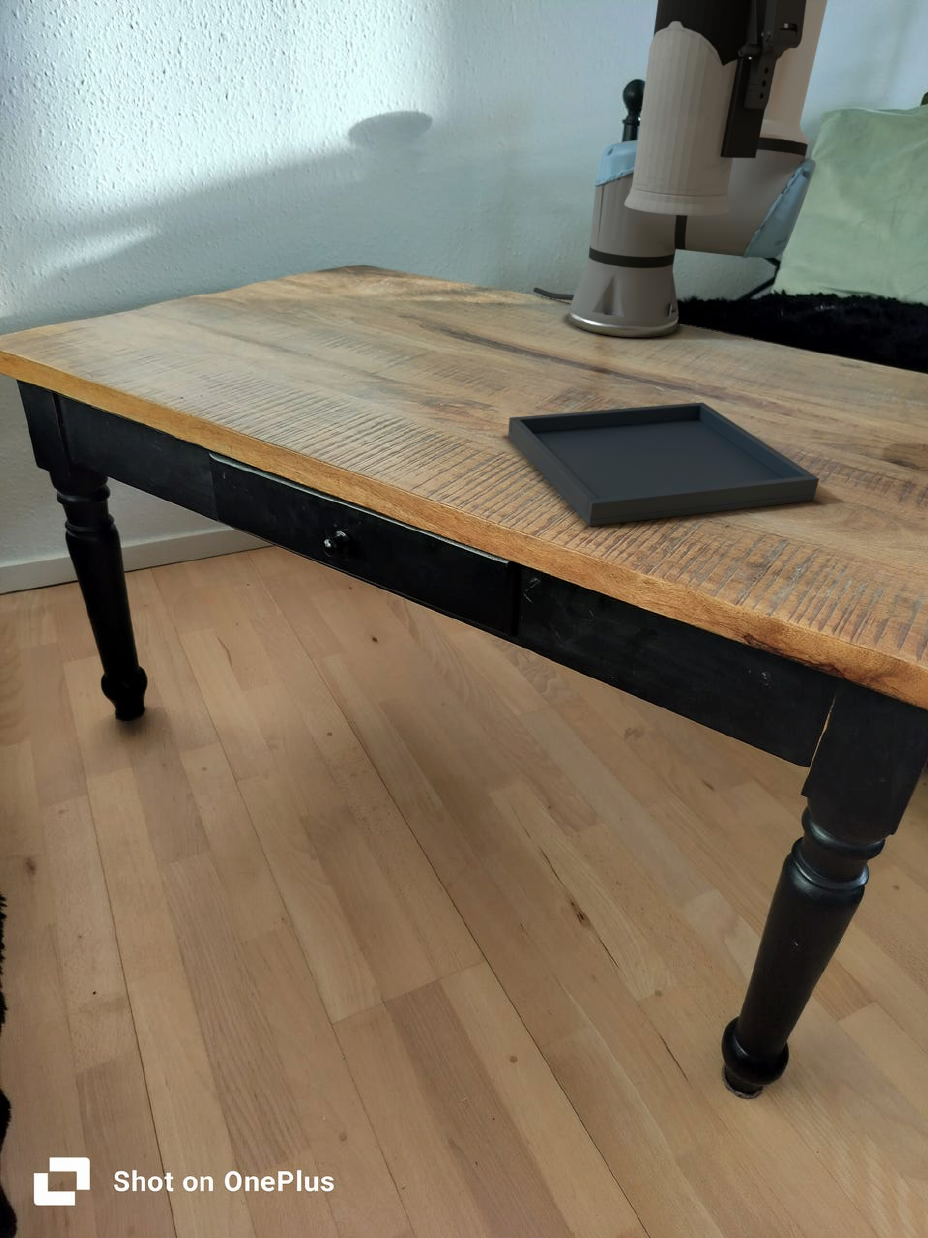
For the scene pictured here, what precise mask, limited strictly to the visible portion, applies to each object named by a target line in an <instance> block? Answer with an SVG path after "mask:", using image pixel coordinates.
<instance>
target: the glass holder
mask: <svg viewBox="0 0 928 1238" xmlns="http://www.w3.org/2000/svg"><path fill="white" fill-rule="evenodd" d="M747 4H748V0H657V5H656V14H655V20H654V28H653V29H654V30H653V36H652V37H653V38H652V39H651V43H650V46H649V48H648V49H649V51H648V56H647V57H648V58H647V64H646V65H647V66H646V73H645V81H644V89H643V97H642V103H641V112H640V113H641V114H640V120H639V129H638V137H637V140H638V144H637V151H636V159H635V167H634V175H633V183H632V187H631V191H630V194H629V195H628V197H627V199H626V200H625V203H624V205H625V206H627V207H629V208H632V209H636V210H641V211H646V212H653V213H661V214H672V215H690V216H709V215H721V214H726V213H728V212H729V211H730V209H729V204H728V201H727V195H728V194H727V191H728V185H729V180H730V174H731V169H732V163H733V158H725V157H720V156H721V150H722V145H723V139H724V134H725V128H726V122H727V117H728V111H729V106H730V100H731V94H732V89H733V83H734V78H735V72H736V66H737V61H738V58H745V59H749V57H740V56H739V55H738V51H739V50H740V49H741V48H742V47H743V46H745V45H746V9H747ZM762 36H763V33H762Z"/></svg>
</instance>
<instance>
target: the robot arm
mask: <svg viewBox="0 0 928 1238" xmlns="http://www.w3.org/2000/svg"><path fill="white" fill-rule="evenodd" d="M828 1H829V0H748V4H747V9H746V45H745V46H743V47H742V48H741V49H740V50H739V51H738V55H739V56H740V57H749V59H745V58H738V61H737V66H736V72H735V78H734V83H733V89H732V94H731V100H730V106H729V111H728V117H727V122H726V128H725V134H724V139H723V145H722V150H721V156H720V157H725V158H733V163H732V169H731V174H730V180H729V185H728V191H727V194H728V195H727V201H728V204H729V209H730V211H729V212H728V213H726V214H721V215H709V216H690V215H672V214H661V213H653V212H646V211H641V210H636V209H632V208H629V207H627V206H625V205H624V203H625V200H626V199H627V197H628V195H629V194H630V191H631V187H632V183H633V175H634V167H635V159H636V151H637V144H638V139H635V140H627V141H619V142H616V143H612V144H610V145H608V146H607V147H605V148H604V149H603V151H602V153H601V154H600V157H599V164H598V170H597V175H596V176H597V177H596V181H595V182H594V187H595V191H594V202H593V209H592V218H591V219H592V220H591V230H590V239H589V249H588V256H587V264H586V266H585V268H584V271H583V274H582V276H581V278H580V281H579V283H578V286H577V288H576V290H575V293H574V294H567V293H566V294H565V293H555V292H551V291H548V290H545V289H541V288H539V287H534V288H533V292H534V293H536V294H539V295H541V296H543V297H546V298H550V299H552V300H553V299H554V300H560V301H561V300H564V301H571V303H570V307H569V313H568V314H569V315H568V320H569V322H570V323H571V324H573V325H574V326H575V327H578V328H579V329H582V330H584V331H588V332H591V333H595V334H600V335H608V336H612V337H613V336H614V337H624V338H650V337H651V338H652V337H659V336H665V335H668V334H671V333H673V332H675V330H677V328H678V326H677V325H678V322H679V306H678V305H679V304H678V300H677V292H676V284H675V279H674V264H675V263H674V262H675V256H676V251H677V250H678V251H679V250H680V251H687V252H688V251H689V252H696V253H697V252H698V253H705V254H714V255H715V254H717V255H722V256H723V255H726V256H732V257H733V256H734V257H741V258H743V259H748V258H758V259H773V258H776V257H778V256H780V255H781V254H782V253H783V252H785V250H786V248H787V246H788V244H789V242H790V239H791V237H792V234H793V232H794V229H795V226H796V224H797V220H798V218H799V216H800V213H801V211H802V207H803V205H804V201H805V199H806V196H807V194H808V191H809V188H810V183H811V181H812V178H813V175H814V174H815V173H814V172H815V170H816V165H817V162H816V161H815V160H814V159H812V158H811V157H806V155H807V153H808V147H809V143H810V142H809V140H808V138H807V136H806V134H804V132H803V130H802V128H801V120H802V118H803V117H802V116H803V113H804V107H805V103H806V98H807V94H808V90H809V87H810V85H809V84H810V82H811V81H810V80H811V76H812V73H813V67H814V62H815V58H816V55H817V51H818V50H817V49H818V46H819V40H820V35H821V32H822V27H823V22H824V18H825V14H826V10H827V5H828ZM762 33H763V36H762Z"/></svg>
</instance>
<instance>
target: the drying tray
mask: <svg viewBox="0 0 928 1238" xmlns="http://www.w3.org/2000/svg"><path fill="white" fill-rule="evenodd" d="M508 420H509V421H508V433H507V438H508V439H509V440H510V441H511V442H512V444H513V445H514V446H515V447H516V448H517V449H518V450H519V451H520V452H521V454H522V455H523V456H524V457H525V458H526V459H527V460H528V461H529V462H530V463H531V464H532V466H533V467H534V468H535V469H536V470H537V471H538V472H539V473H540V474H541V476H542V477H544V478H545V479H546V481H547V483H549V484H550V485H551V486H552V487H553V489H554V490H556V492H557V493H558V494H559V495H560V496H561V498H563V499H564V500H565V502H566V503H567V504H568V505H569V507H570V508H572V509H573V511H575V513H576V514H577V515H578V516H579V517H580V518H581V519H582V520H583V521H584V523H586V525H587V526H588V527H598V526H606V525H614V524H622V523H623V524H624V523H631V522H641V521H649V520H656V519H657V520H659V519H666V518H673V517H682V516H690V515H691V516H692V515H700V514H708V513H716V512H726V511H734V510H743V509H751V508H760V507H767V506H776V505H784V504H793V503H794V504H795V503H800V502H802V503H803V502H810V501H814V498H815V496H816V492H817V488H818V485H819V481H820V478H819V477H817V476H816V475H815V474H813V473H811V472H810V471H808V470H807V469H805V468H804V467H802V466H801V465H799V464H798V463H796V462H795V461H793V460H792V459H790V458H788V457H787V456H785V455H784V454H782V453H781V452H779V451H777V449H775V448H774V447H772V446H770V445H769V444H767V443H766V442H764V441H763V440H761V439H759V438H758V437H756V436H755V435H753V434H752V433H750V432H749V431H748V430H746V429H745V428H744V427H741V426H740V425H738V424H737V423H735V422H733V421H732V420H731V419H729V418H728V417H726V416H724V415H723V414H721V413H720V412H718V411H717V410H715V409H714V408H712V406H711V407H710V406H709V405H708V404H706V403H704V402H701V401H700V402H690V403H688V402H687V403H678V404H677V403H676V404H666V405H665V404H664V405H663V404H662V405H650V406H637V407H625V408H613V409H601V410H589V411H587V410H586V411H574V412H563V413H561V412H560V413H550V414H549V413H547V414H538V415H537V414H536V415H525V416H524V415H523V416H510V417H509V419H508Z"/></svg>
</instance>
